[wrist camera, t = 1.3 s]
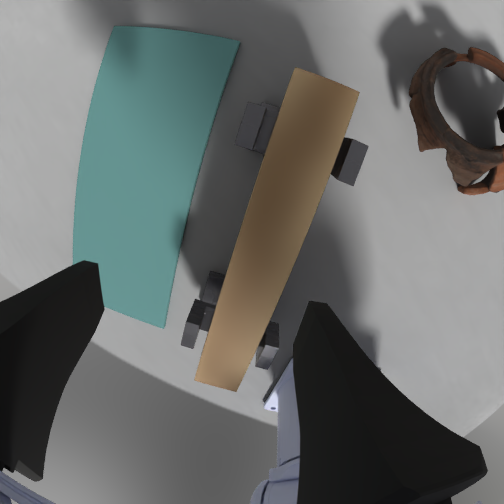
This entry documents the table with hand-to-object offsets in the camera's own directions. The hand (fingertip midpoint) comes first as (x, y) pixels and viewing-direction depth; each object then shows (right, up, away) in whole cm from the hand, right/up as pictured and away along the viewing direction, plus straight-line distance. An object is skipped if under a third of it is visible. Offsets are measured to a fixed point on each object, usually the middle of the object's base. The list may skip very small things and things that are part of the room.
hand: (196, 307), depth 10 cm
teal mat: (-6, +6, +9) cm, 13 cm away
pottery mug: (+17, +11, +6) cm, 21 cm away
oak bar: (+2, +2, +7) cm, 8 cm away
